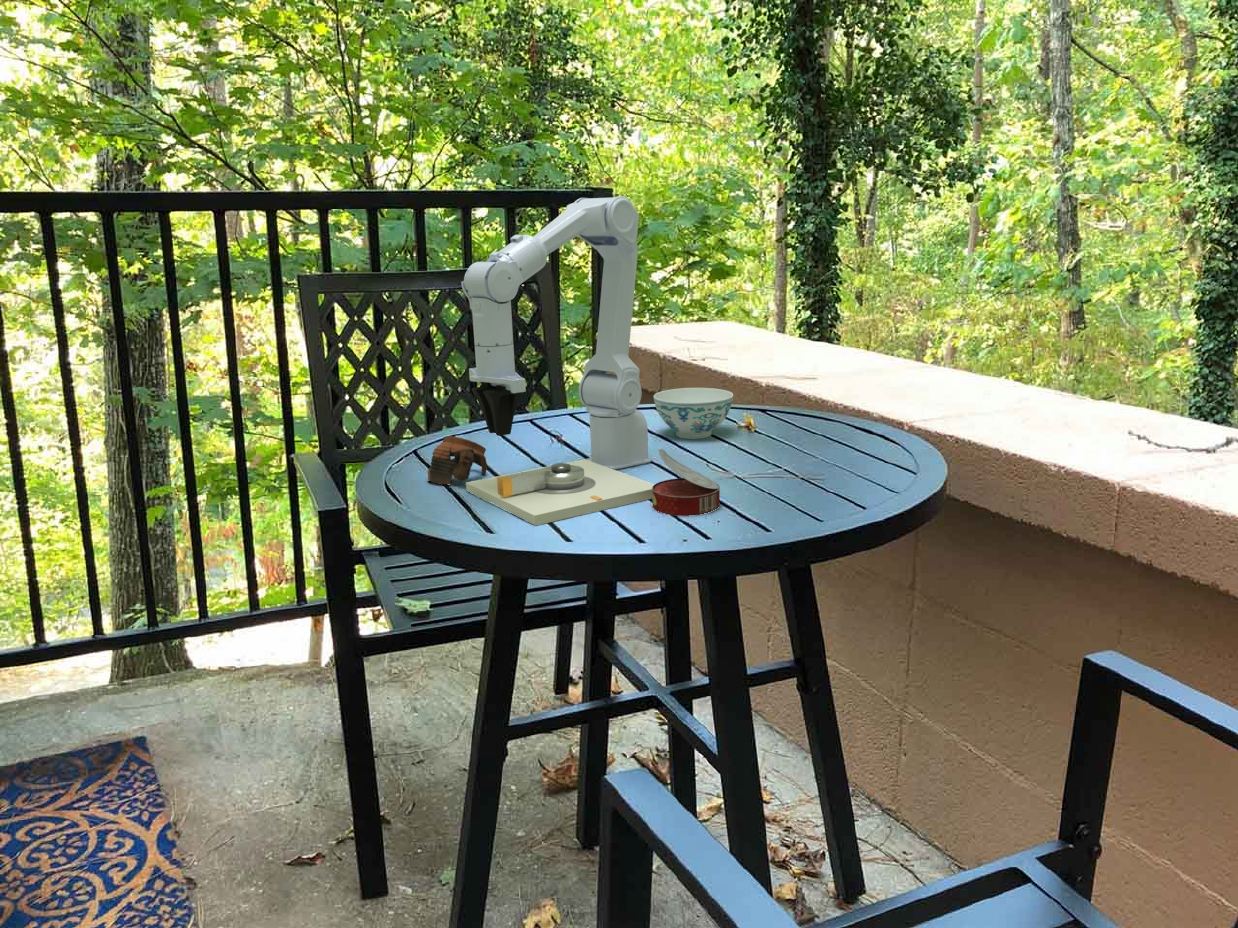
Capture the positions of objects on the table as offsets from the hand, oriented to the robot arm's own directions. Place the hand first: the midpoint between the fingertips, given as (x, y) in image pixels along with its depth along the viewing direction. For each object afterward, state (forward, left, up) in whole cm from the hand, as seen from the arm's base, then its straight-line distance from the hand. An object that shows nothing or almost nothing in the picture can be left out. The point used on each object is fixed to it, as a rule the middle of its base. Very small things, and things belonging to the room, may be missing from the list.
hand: (499, 433), depth 149 cm
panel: (-8, +5, -10) cm, 13 cm away
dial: (-4, +5, -8) cm, 10 cm away
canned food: (-19, +22, -10) cm, 31 cm away
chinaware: (-48, -13, -10) cm, 50 cm away
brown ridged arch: (+1, -13, -10) cm, 17 cm away
